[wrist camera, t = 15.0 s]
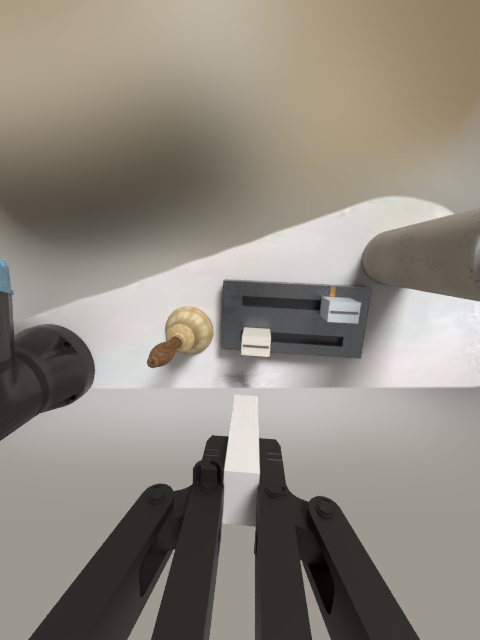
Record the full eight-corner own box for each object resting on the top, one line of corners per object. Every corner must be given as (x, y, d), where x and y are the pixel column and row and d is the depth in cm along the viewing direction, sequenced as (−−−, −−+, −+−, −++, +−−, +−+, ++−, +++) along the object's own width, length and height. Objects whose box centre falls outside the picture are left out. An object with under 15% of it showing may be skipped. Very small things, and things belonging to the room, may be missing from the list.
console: (223, 344, 46) (221, 348, 43) (225, 279, 44) (223, 280, 41) (355, 353, 44) (360, 358, 42) (364, 286, 42) (371, 288, 39)
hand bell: (160, 311, 46) (107, 336, 30) (207, 302, 45) (177, 324, 29) (172, 356, 47) (127, 403, 32) (217, 349, 46) (194, 393, 31)
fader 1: (244, 341, 44) (241, 355, 38) (244, 325, 43) (242, 336, 37) (268, 343, 44) (269, 357, 37) (269, 326, 43) (270, 337, 37)
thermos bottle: (397, 218, 40) (696, 123, 12) (427, 261, 40) (768, 259, 13) (351, 254, 41) (527, 239, 14) (381, 294, 42) (601, 354, 15)
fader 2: (317, 313, 42) (327, 322, 36) (319, 295, 42) (330, 301, 35) (343, 314, 42) (358, 323, 35) (346, 296, 41) (361, 302, 35)
